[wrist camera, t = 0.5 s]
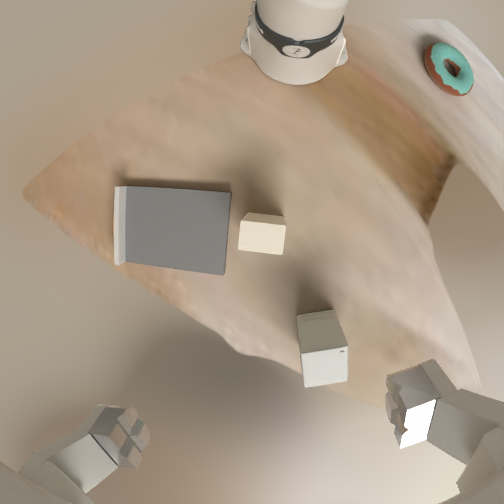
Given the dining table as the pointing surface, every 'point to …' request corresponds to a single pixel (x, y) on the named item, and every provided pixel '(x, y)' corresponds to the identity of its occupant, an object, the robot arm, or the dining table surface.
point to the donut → (441, 76)
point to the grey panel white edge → (171, 228)
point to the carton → (262, 233)
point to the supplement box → (322, 348)
